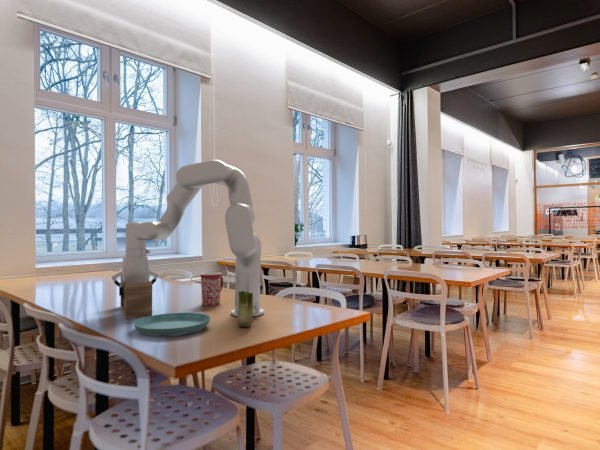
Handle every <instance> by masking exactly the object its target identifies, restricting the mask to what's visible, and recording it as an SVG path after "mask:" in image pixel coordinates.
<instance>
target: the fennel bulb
mask: <svg viewBox="0 0 600 450" xmlns="http://www.w3.org/2000/svg"><path fill="white" fill-rule="evenodd" d="M253 318H254V316H253V293H249V292H245V291H239V308H238V315H237V316H236V321H237V323H236V324H237V325H238V326H240V327H242V328H249V327H251V326H252V323H253Z"/></svg>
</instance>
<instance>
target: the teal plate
mask: <svg viewBox="0 0 600 450" xmlns="http://www.w3.org/2000/svg"><path fill="white" fill-rule="evenodd" d="M210 321H211V316H210V315H208V314H204V313H198V312H171V313H170V312H169V313H160V314H155V315H153V314H152V316H148V317H142V318H137V319H135V320H134V322H133V323H132V324H133V327H134V328H135V329H136V330H137V331H138V332H140V333H141V334H142V335H145V336H149V337H159V338H160V337H166V338H167V337H179V336H184V335H185V336H187V335H191V334H194V333H197V332H199V331H202V330H203V329H204V328H205V327H206V326H207V325H208V324H209V323H210Z"/></svg>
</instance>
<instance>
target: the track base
mask: <svg viewBox="0 0 600 450" xmlns="http://www.w3.org/2000/svg"><path fill="white" fill-rule="evenodd" d="M121 281H122V279H121V278H120V282H121ZM123 288H124V298H121V297H120V306H121V307H120V306H119V307H120V308H121V311H122V314H123V315H125V316H124V318H125V320H130V319H141V318H144V317H148V316H153V285H152V281H151V280H149V281H142V282H126V283H125V284H124V285H123Z"/></svg>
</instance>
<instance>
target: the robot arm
mask: <svg viewBox="0 0 600 450" xmlns="http://www.w3.org/2000/svg"><path fill="white" fill-rule="evenodd" d="M175 182H176V184H175V185H174V186H173V187H172V189H170V192H169V193H168V194H167V195H166V202H167V203H166V209H165V211H164V213H163V215H162V216H161V217H160V218H159V220H158V221H145V222H144V221H143V222H141V221H130V222H127V223H126V224H125V252H124V253H125V256H123V258H122V263H121V270H120V271H119V272H117V273H116V274H114V275H112V276H111V279H112V281H113V283H114V284H115V285H116V286H117V287H118V291H119V292H118V295H119V296H120V299H121V298H124V288H123V285H124V284H125V283H126V282H142V281H152V286H153V285H154V284H155V283H156V282H157V280H158V278H159V274H158V273H156V272H154V271H152V270H150V263H149V257H148V256H147V254H150V253H151V250H150V249H147V241H148V242H151V241H152V242H156V241H163V240H167V238H168V237H170V236H171V235H172V234H173V233H174V231H175V230H176V229H177V227H178V225H179V224H180V222H181V220H182V218H183V216H184V213H185V210H186V209H187V207H188V206H189V205H190V203H192V201H193V200H194V199H195V197H196V196H197V194H198V193H199V191H201V189H202V188H203V186H206V185H210V184H211V185H212V184H217V185H220V186H225V187H226V188H227V196H228V200H229V206H228V208H226V210H225V214H224V215H225V216H224V221H225V228H226V233H227V234H226V235H227V240H228V244H229V248H230V251H231V253H232V254H233V255H234V256H236V257H235V271H234V273H235V274H234V278H235V279H234V280H235V281H234V290H235V291H234V292H235V293H234V295H235V297H234V298H235V299H234V309H231V310H230V314H231V315H232V316H235V317H237V315H238V308H239V291H245V292H249V293H253V317H257V316H261V315H264V313H265V311H264V309H263V308H261V258H262V257H261V255H262V241H261V239H260V237H259V235H257V234H256V233H255V232H254V229H253V228H254V226H253V224H254V222H255V219H256V218H255V217H256V216H255V211H254V206H253V200H252V196H251V191H250V185H249V181H248V179H247V176H246V175H245V174H244V173H243V171H242V170H240V169H238V167H235V166H232V165H229V164H228V163H225V162H224V161H222V160H219V159H211V160H207V161H206V160H205V161H201V162H196V163H190V164H186V165H185V164H184V165H183V166H181V167H180V168H179V169H177V171H176V174H175ZM150 276H153V278H152V279H151V280H150ZM119 277H120V281H118V279H117V278H119ZM121 279H122V281H121Z"/></svg>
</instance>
